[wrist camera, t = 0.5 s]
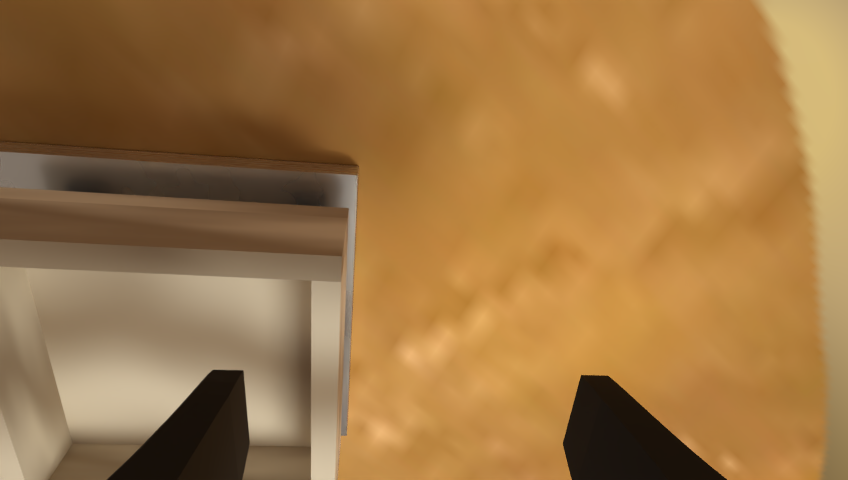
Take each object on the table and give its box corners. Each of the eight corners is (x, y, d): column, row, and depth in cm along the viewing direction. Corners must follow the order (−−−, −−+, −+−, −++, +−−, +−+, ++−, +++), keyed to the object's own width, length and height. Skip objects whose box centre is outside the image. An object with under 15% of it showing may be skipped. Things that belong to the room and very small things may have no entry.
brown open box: (341, 428, 22) (333, 519, 19) (77, 424, 21) (12, 520, 18) (350, 197, 18) (342, 256, 14) (13, 176, 17) (-94, 234, 13)
